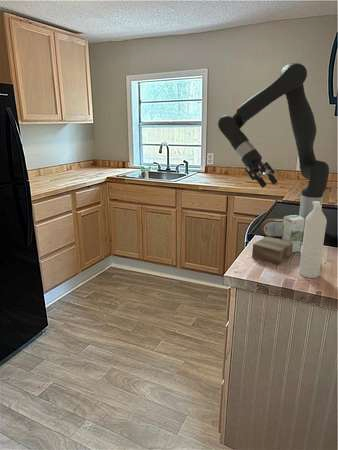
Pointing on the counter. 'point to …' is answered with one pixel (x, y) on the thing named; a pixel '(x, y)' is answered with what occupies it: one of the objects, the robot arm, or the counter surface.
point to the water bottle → (313, 242)
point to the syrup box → (293, 231)
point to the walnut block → (272, 250)
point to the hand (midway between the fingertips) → (270, 185)
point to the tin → (272, 227)
